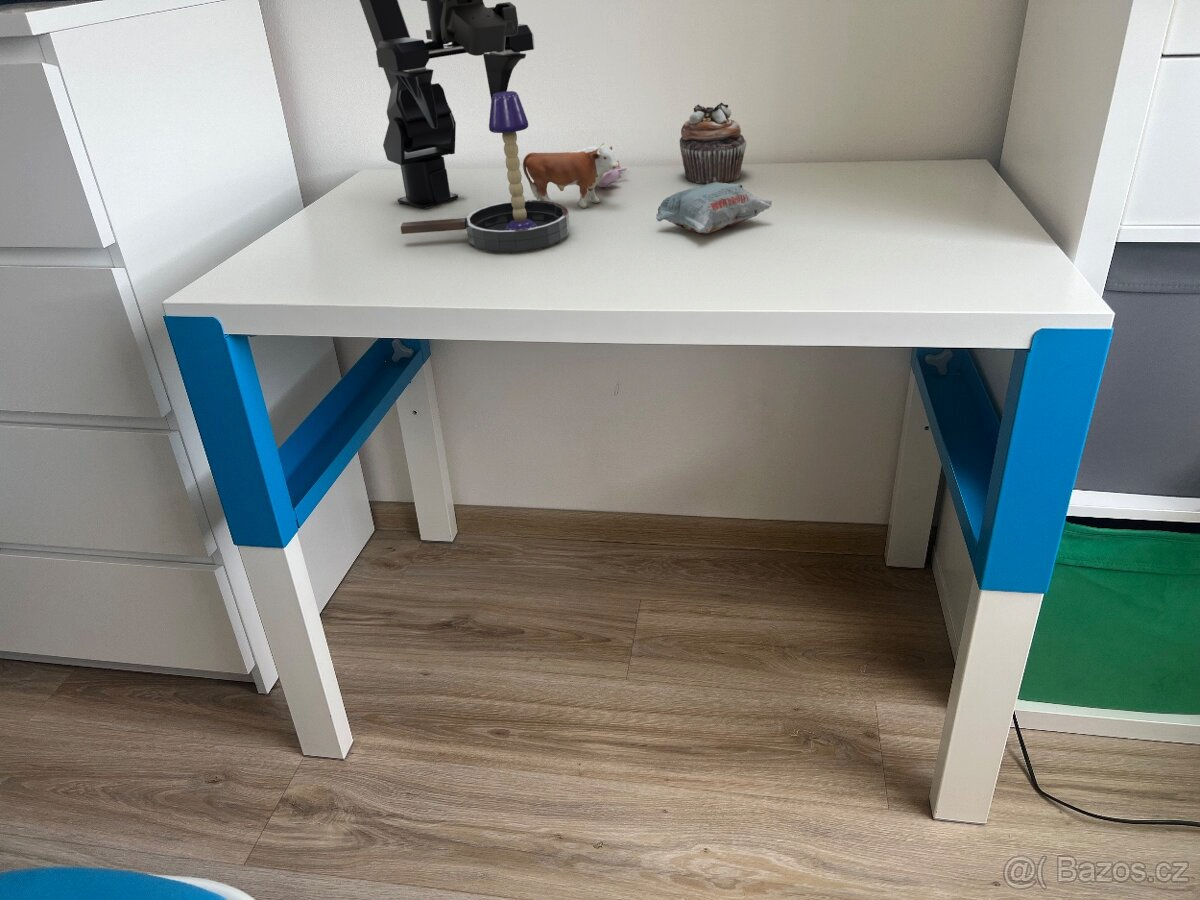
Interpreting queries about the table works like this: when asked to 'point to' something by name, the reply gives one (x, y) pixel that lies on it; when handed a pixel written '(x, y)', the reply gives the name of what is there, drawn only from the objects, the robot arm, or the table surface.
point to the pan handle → (433, 226)
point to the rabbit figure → (610, 175)
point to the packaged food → (711, 207)
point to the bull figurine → (569, 170)
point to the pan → (492, 236)
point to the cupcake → (712, 146)
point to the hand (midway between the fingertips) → (467, 121)
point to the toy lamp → (511, 150)
